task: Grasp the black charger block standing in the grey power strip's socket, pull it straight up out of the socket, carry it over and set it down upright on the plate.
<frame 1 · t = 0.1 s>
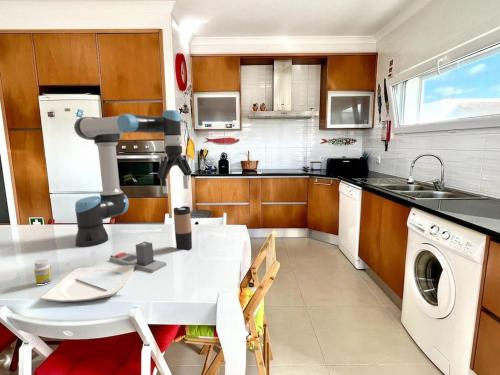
hand: (176, 190, 132), 28 cm above the table, fingers open, 13 cm apart
charger: (145, 265, 115), point 1 cm above the table, touching power strip
power strip: (137, 265, 118), on the table
plate: (94, 287, 101), on the table
supplement bottle: (44, 283, 104), on the table
travel mug: (184, 249, 135), on the table
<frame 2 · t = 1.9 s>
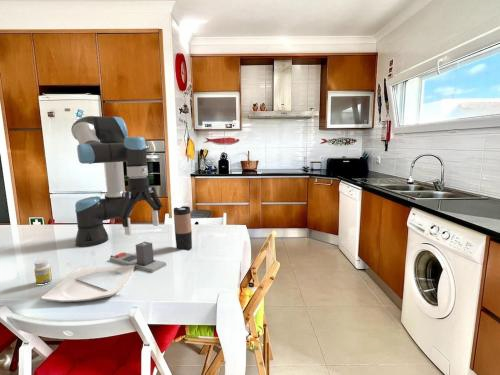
hand: (142, 230, 113), 16 cm above the table, fingers open, 13 cm apart
nothing on the table moved.
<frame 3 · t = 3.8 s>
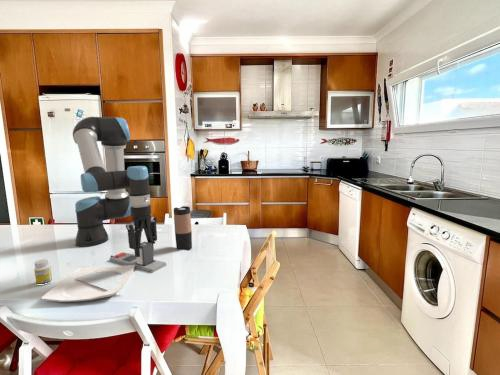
hand: (145, 261, 115), 3 cm above the table, fingers closed on charger, 4 cm apart
charger: (145, 265, 115), point 1 cm above the table, touching gripper, power strip
everything else where it was.
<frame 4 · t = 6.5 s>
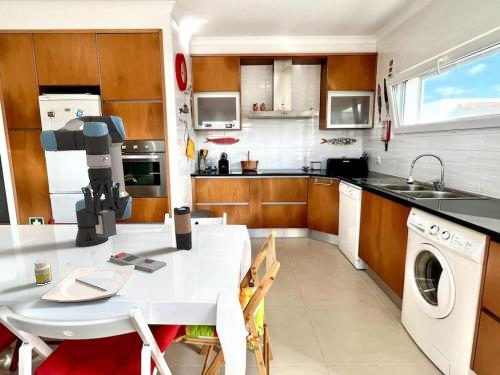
hand: (106, 231, 103), 19 cm above the table, fingers closed on charger, 4 cm apart
charger: (107, 235, 103), point 17 cm above the table, touching gripper
everything else where it was.
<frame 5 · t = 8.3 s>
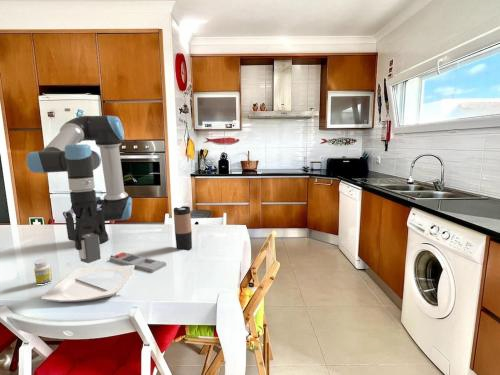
hand: (90, 255, 99), 11 cm above the table, fingers closed on charger, 4 cm apart
charger: (90, 259, 100), point 10 cm above the table, touching gripper
everything else where it was.
when the fingers open (5 cm above the table, at t = 9.7 s): charger drops 1 cm, resting on plate.
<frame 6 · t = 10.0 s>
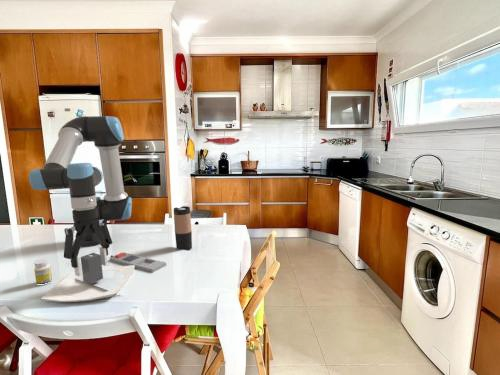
hand: (92, 269, 100), 6 cm above the table, fingers open, 9 cm apart
charger: (93, 279, 101), point 2 cm above the table, touching plate
plate: (94, 287, 101), on the table, touching charger
everything else where it was.
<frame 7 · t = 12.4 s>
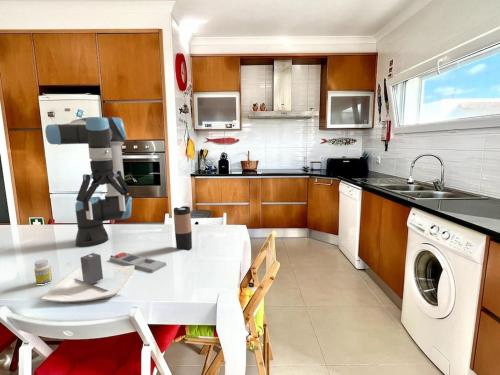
hand: (107, 214, 109), 23 cm above the table, fingers open, 13 cm apart
nothing on the table moved.
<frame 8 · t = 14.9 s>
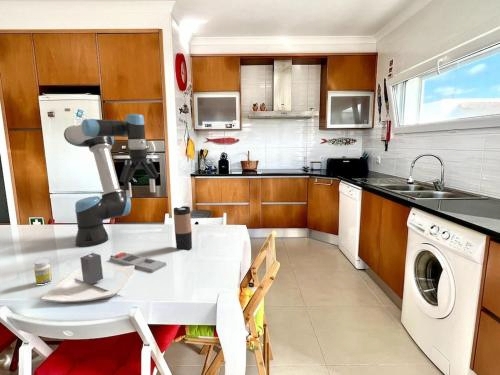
hand: (141, 194, 132), 27 cm above the table, fingers open, 13 cm apart
nothing on the table moved.
at the end: charger 0.0 cm from the plate (horizontally); charger tilted 0°; the gripper is holding nothing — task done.
